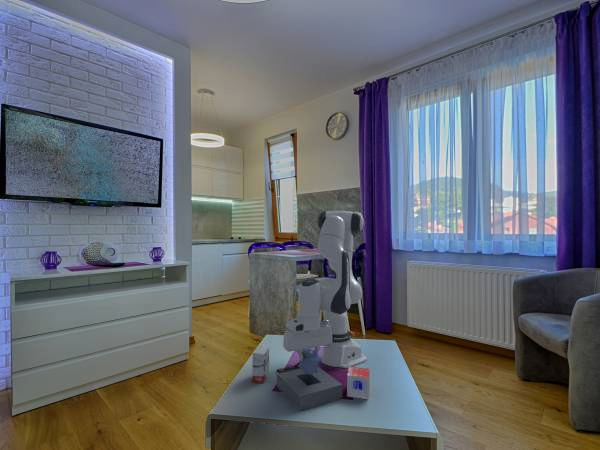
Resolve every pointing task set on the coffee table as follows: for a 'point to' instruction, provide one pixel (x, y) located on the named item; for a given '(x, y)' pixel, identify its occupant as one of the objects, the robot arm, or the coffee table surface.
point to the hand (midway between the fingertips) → (308, 359)
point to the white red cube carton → (358, 382)
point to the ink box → (260, 364)
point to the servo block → (309, 361)
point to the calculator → (288, 368)
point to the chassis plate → (309, 388)
